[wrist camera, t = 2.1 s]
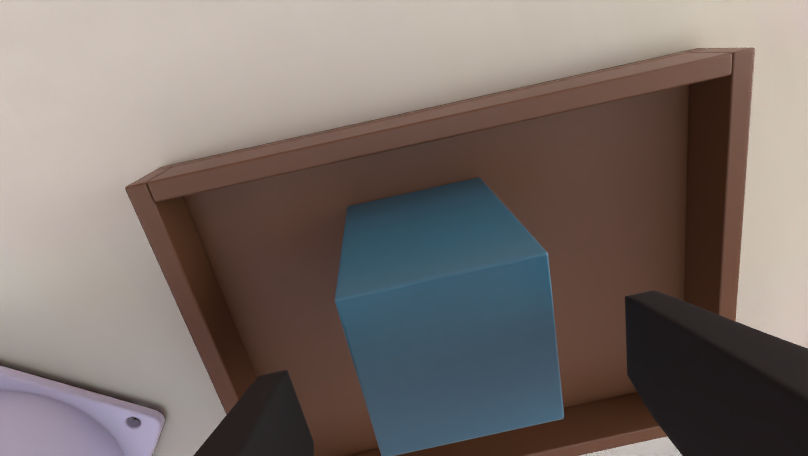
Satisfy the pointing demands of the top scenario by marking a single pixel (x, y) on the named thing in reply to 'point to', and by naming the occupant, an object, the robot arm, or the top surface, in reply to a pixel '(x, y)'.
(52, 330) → the top surface
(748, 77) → the tray
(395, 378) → the block
